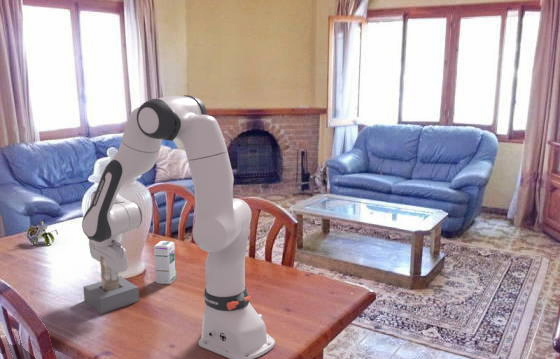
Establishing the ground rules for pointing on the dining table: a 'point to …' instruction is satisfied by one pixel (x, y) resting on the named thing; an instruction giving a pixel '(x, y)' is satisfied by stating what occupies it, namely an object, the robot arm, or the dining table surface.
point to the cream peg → (107, 277)
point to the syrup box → (165, 262)
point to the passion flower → (39, 233)
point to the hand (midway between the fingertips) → (110, 277)
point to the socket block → (111, 296)
